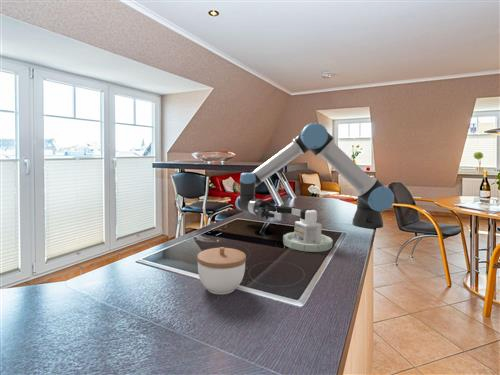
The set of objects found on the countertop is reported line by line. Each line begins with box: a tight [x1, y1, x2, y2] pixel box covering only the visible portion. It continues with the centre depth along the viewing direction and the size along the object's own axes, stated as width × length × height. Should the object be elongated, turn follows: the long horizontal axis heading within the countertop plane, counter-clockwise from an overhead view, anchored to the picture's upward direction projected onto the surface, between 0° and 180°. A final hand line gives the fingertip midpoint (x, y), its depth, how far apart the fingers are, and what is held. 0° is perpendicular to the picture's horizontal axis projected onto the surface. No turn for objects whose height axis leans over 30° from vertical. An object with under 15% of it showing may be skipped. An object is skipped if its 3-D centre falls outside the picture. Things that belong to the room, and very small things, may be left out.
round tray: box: [282, 231, 334, 253], centre depth 123 cm, size 19×19×2 cm
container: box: [293, 208, 323, 244], centre depth 122 cm, size 8×8×13 cm
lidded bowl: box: [196, 246, 247, 296], centre depth 80 cm, size 13×13×11 cm
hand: (292, 215), depth 128 cm, fingers open, 13 cm apart
